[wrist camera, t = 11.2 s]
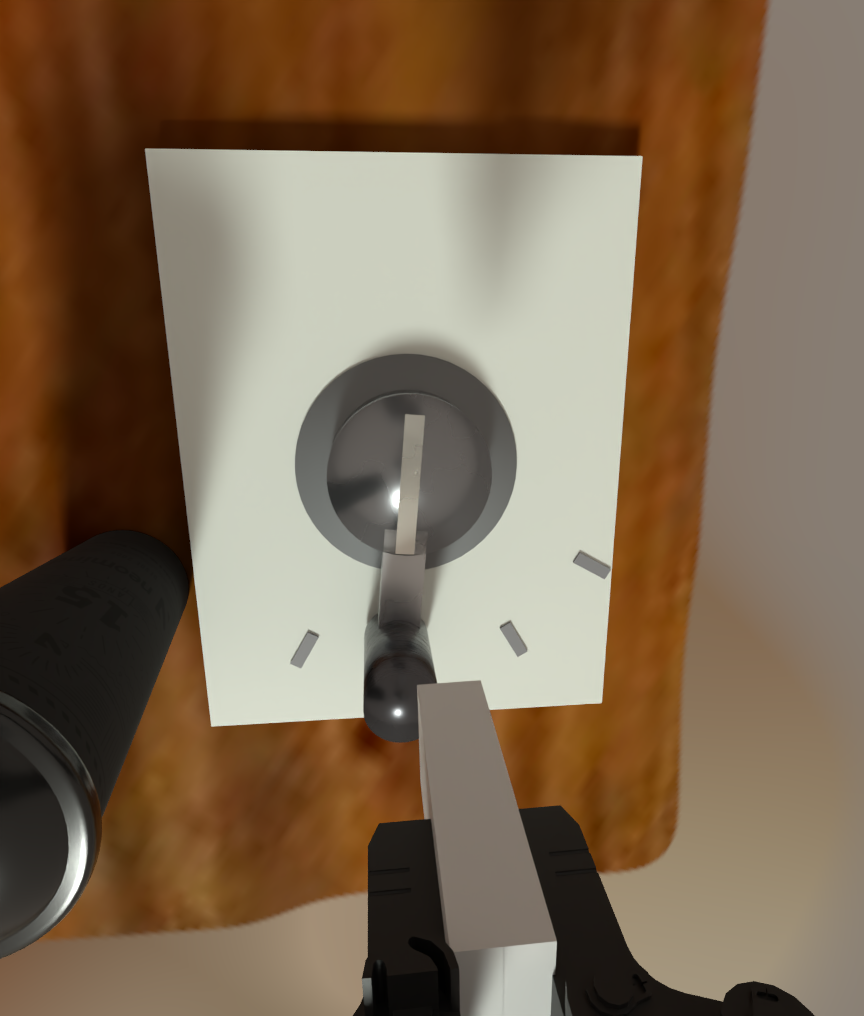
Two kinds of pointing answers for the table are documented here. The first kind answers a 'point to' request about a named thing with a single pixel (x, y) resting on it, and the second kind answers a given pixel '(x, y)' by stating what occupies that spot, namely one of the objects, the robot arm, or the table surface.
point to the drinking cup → (73, 711)
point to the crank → (405, 529)
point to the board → (390, 367)
